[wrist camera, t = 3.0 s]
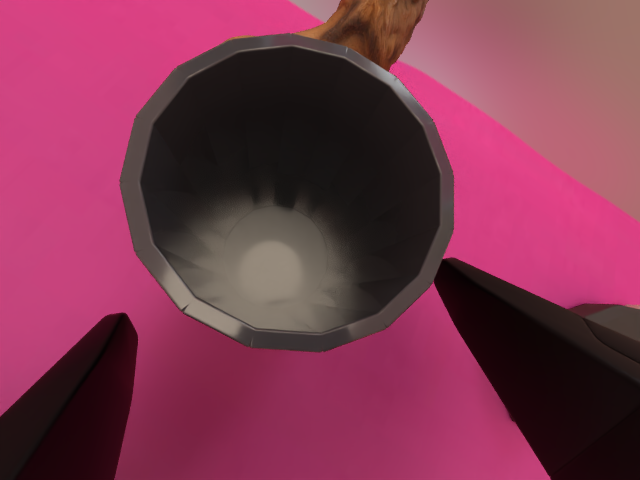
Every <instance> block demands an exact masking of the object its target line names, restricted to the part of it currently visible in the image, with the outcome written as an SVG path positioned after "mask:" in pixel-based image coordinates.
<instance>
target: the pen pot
mask: <svg viewBox="0 0 640 480" xmlns="http://www.w3.org/2000/svg"><path fill="white" fill-rule="evenodd" d="M120 189H121V194H122V198H123V203H124V207H125V212H126V216H127V221H128V225H129V230H130V234H131V239H132V243H133V248H134V251H135V252H136V255H137V257H138V258H139V259H140V261H141V262H142V263H143V264H144V266H145V267H146V268H147V269H148V271H149V272H150V273H151V275H152V276H153V277H154V278H155V280H156V281H157V282H158V283H159V285H160V286H161V287H162V289H163V290H164V291H165V292H166V294H167V295H168V296H169V298H170V299H171V300H172V301H173V303H174V304H175V305H176V306H177V308H178V309H179V310H180V311H181V312H182V311H183V314H185V315H187V316H189V317H191V318H193V319H195V320H196V321H198V322H200V323H202V324H204V325H206V326H208V327H210V328H212V329H214V330H216V331H218V332H219V333H221V334H223V335H225V336H227V337H229V338H231V339H233V340H235V341H237V342H239V343H241V344H243V345H244V346H246V347H249V346H250V348H257V349H272V350H288V351H303V352H319V353H320V352H322V351H323V352H326V351H328V350H331V349H334V348H337V347H339V346H342V345H345V344H348V343H350V342H353V341H356V340H358V339H361V338H364V337H367V336H369V335H372V334H375V333H377V332H380V331H383V330H385V329H386V328H388V327H389V326H390V325H391V324H392V323H393V322H394V321H395V320H396V319H397V318H398V317H399V316H400V315H402V314H403V313H404V312H405V311H406V310H407V309H408V308H409V307H410V306H411V305H412V304H413V303H414V302H415V301H416V300H417V299H418V298H419V297H420V296H421V295H422V294H423V293H424V292H425V291H426V290H427V289H428V288H429V287H430V286H431V284H432V283H433V281H434V278H435V276H436V273H437V271H438V268H439V266H440V263H441V261H442V258H443V256H444V254H445V251H446V249H447V246H448V244H449V241H450V239H451V236H452V234H453V230H454V175H453V170H452V168H451V165H450V162H449V160H448V157H447V154H446V152H445V149H444V146H443V144H442V141H441V138H440V136H439V133H438V131H437V128H436V125H435V123H434V122H433V119H432V118H431V117H430V116H429V115H428V113H427V112H426V111H425V110H424V109H423V107H422V106H421V105H420V104H419V103H418V101H417V100H416V99H415V98H414V97H413V95H412V94H411V93H410V92H409V90H408V89H407V88H406V87H405V86H404V84H403V83H402V82H401V81H400V80H399V79H398V78H397V77H396V76H395V75H393V74H391V73H390V72H388V71H387V70H385V69H383V68H382V67H380V66H378V65H377V64H375V63H374V62H372V61H370V60H369V59H367V58H366V57H364V56H362V55H361V54H359V53H358V52H356V51H354V50H353V49H351V48H348V47H347V46H343V45H339V44H335V43H331V42H327V41H322V40H318V39H314V38H310V37H306V36H302V35H297V34H293V33H292V34H290V33H286V34H276V35H266V36H256V37H246V38H236V39H232V40H228V41H226V42H224V43H222V44H220V45H218V46H216V47H214V48H212V49H210V50H208V51H206V52H204V53H202V54H201V55H199V56H197V57H195V58H193V59H191V60H189V61H187V62H185V63H183V64H181V65H179V66H177V68H175V69H174V70H173V71H172V72H171V74H170V75H169V76H168V77H167V78H166V80H165V81H164V82H163V83H162V84H161V86H160V87H159V88H158V89H157V91H156V92H155V93H154V94H153V95H152V97H151V98H150V99H149V100H148V102H147V103H146V104H145V105H144V106H143V108H142V109H141V110H140V111H139V113H138V114H137V115H136V118H135V119H134V123H133V127H132V131H131V135H130V139H129V144H128V148H127V152H126V156H125V160H124V164H123V168H122V172H121V176H120Z"/></svg>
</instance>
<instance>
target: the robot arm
mask: <svg viewBox="0 0 640 480" xmlns="http://www.w3.org/2000/svg"><path fill="white" fill-rule="evenodd" d="M434 284H435V287H436V289H437V291H438V293H439V295H440V297H441V299H442V301H443V303H444V305H445V307H446V309H447V311H448V313H449V315H450V317H451V319H452V321H453V323H454V325H455V327H456V328H457V330H458V332H459V333H460V335H461V337H462V338H463V340H464V341H465V343H466V345H467V346H468V348H469V349H470V351H471V353H472V354H473V356H474V357H475V359H476V360H477V362H478V364H479V365H480V367H481V368H482V370H483V372H484V373H485V375H486V376H487V378H488V380H489V381H490V383H491V384H492V386H493V388H494V389H495V391H496V392H497V394H498V396H499V397H500V399H501V400H502V402H503V403H504V405H505V407H506V408H507V410H508V411H509V413H510V415H511V416H512V418H513V419H514V421H515V423H516V424H517V426H518V427H519V429H520V431H521V432H522V434H523V435H524V437H525V439H526V440H527V442H528V443H529V445H530V446H531V448H532V450H533V451H534V453H535V454H536V456H537V458H538V459H539V461H540V462H541V464H542V466H543V467H544V469H545V470H546V472H547V474H548V475H549V476H550V479H551V480H640V342H639V341H637V340H635V339H632V338H630V337H627V336H625V335H623V334H620V333H618V332H616V331H614V330H611V329H609V328H607V327H605V326H602V325H600V324H598V323H596V322H594V321H591V320H589V319H587V318H585V317H581V316H580V315H578V314H576V313H574V312H572V311H570V310H567V309H565V308H563V307H561V306H559V305H556V304H554V303H552V302H550V301H548V300H546V299H543V298H541V297H539V296H537V295H535V294H532V293H530V292H528V291H526V290H524V289H522V288H519V287H517V286H515V285H513V284H511V283H508V282H506V281H504V280H502V279H500V278H498V277H495V276H493V275H491V274H489V273H487V272H484V271H482V270H480V269H478V268H476V267H473V266H471V265H469V264H467V263H465V262H463V261H460V260H458V259H456V258H446V259H442V261H441V263H440V266H439V268H438V271H437V273H436V276H435V278H434ZM137 346H138V335H137V332H136V330H135V328H134V326H133V324H132V322H131V321H130V319H129V317H128V315H127V314H126V313H116V314H110V315H107V316H105V317H104V318H103V319H101V320H100V321H99V322H98V323H97V324H96V325H95V326H94V327H93V328H92V329H91V330H90V331H89V332H88V333H87V334H86V335H85V336H84V337H83V338H82V339H81V340H80V341H79V342H78V343H77V344H75V345H74V346H73V347H72V348H71V349H70V350H69V351H68V352H67V353H66V354H65V355H64V356H63V357H62V358H61V359H60V360H59V361H58V362H57V363H56V364H55V365H54V366H53V367H52V368H50V369H49V370H48V371H47V372H46V373H45V374H44V375H43V376H42V377H41V378H40V379H39V380H38V381H37V382H36V383H35V384H34V385H33V386H32V387H31V388H30V389H29V390H28V391H27V392H26V393H24V394H23V395H22V396H21V397H20V398H19V399H18V400H17V401H16V402H15V403H14V404H13V405H12V406H11V407H10V408H9V409H8V410H7V411H6V412H5V413H4V414H3V415H2V416H1V417H0V480H114V478H115V474H116V469H117V465H118V460H119V456H120V451H121V447H122V442H123V438H124V434H125V429H126V425H127V420H128V416H129V411H130V406H131V401H132V394H133V386H134V376H135V366H136V356H137Z"/></svg>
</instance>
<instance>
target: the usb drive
mask: <svg viewBox="0 0 640 480" xmlns="http://www.w3.org/2000/svg"><path fill="white" fill-rule="evenodd" d="M568 310H570V311H572V312H574V313H576V314H578V315H580V316H581V317H585V318H587V319H589V320H591V321H594V322H596V323H598V324H600V325H602V326H605V327H607V328H609V329H611V330H614V331H616V332H618V333H620V334H623V335H625V336H627V337H630V338H632V339H635V340H637V341H639V342H640V305H625V306H622V305H615V304H583V305H580V306H577V307H574V308H571V309H568ZM511 418H512V416H511ZM512 421H514V419H513V418H512ZM514 422H515V421H514Z"/></svg>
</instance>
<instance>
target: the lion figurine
mask: <svg viewBox="0 0 640 480" xmlns="http://www.w3.org/2000/svg"><path fill="white" fill-rule="evenodd" d="M428 1H429V0H341V1H340V3H339V6H338V8H337V11H336V12H335V13H334V14H333V15H332V16H331V17H330V18H329V20H328V21H327V22H326V23H324V24H322V25H319V26H317V27H315V28H312V29H308V30H305V31H301V32H297V33H293V34H297V35H302V36H306V37H310V38H314V39H318V40H322V41H327V42H331V43H335V44H339V45H343V46H347V47H348V48H351V49H353V50H354V51H356V52H358V53H359V54H361V55H362V56H364V57H366V58H367V59H369V60H370V61H372V62H374V63H375V64H377V65H378V66H380V67H382V68H383V69H385V70H387V71H388V72H389V69H390V67H391V65H392V64H394V63H395V62H396V61H397V59H398V58H399V56H400V54H402V52H403V50H404V48H405V46H406V44H408V42H409V41H410V38H411V36H412V33H413V30H414V28H415V26H416V25H417V24H418V22H419V21H420V20H421V18H422V16H423V13H424V11H425V7H426V4H427V2H428ZM246 37H256V36H238V37H232V38H230V39H228V40H232V39H236V38H246ZM228 40H226V41H228ZM226 41H224V42H226ZM224 42H223V43H224ZM221 44H222V43H221Z"/></svg>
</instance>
